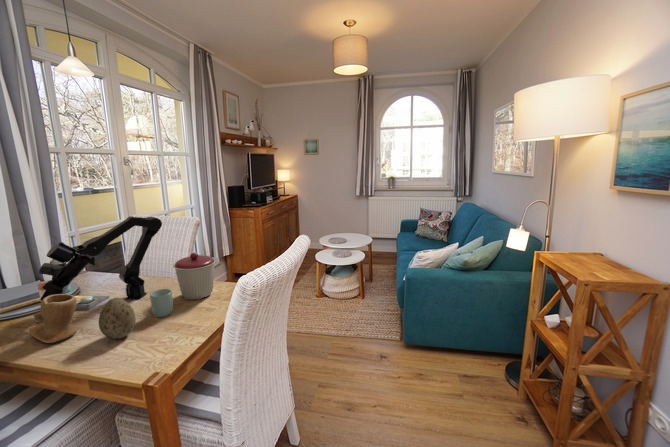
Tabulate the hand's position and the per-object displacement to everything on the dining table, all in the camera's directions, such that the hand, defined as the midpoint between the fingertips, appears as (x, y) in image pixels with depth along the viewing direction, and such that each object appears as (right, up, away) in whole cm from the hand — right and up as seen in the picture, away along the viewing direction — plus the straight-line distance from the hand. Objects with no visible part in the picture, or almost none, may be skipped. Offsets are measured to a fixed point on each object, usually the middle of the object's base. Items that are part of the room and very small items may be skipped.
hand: (43, 298), depth 122 cm
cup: (+45, -8, +5) cm, 46 cm away
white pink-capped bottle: (+1, -5, +2) cm, 6 cm away
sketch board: (+3, -6, +15) cm, 16 cm away
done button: (+8, -4, +12) cm, 15 cm away
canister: (+51, -5, +24) cm, 56 cm away
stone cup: (+15, -11, -9) cm, 21 cm away
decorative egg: (+38, -12, -11) cm, 41 cm away
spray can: (-11, -5, +21) cm, 25 cm away
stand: (+1, -8, +2) cm, 9 cm away
